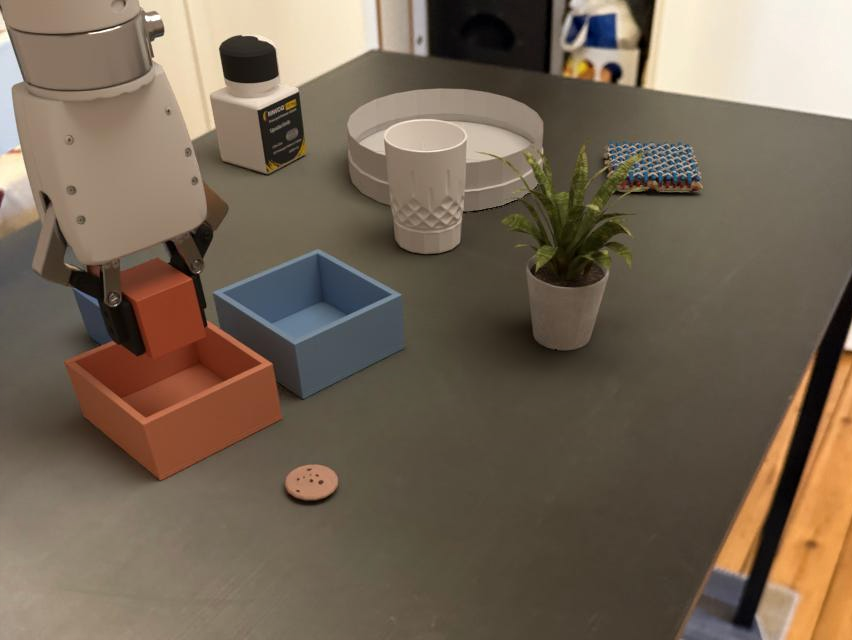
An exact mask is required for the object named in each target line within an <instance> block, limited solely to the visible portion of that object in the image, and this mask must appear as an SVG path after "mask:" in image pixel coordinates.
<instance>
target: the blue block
mask: <svg viewBox="0 0 852 640" xmlns="http://www.w3.org/2000/svg"><path fill="white" fill-rule="evenodd" d="M121 271H122V270H120V272H121ZM71 288H72V287H71ZM72 292H73V294H74V297H75V301H76V304H77V307H78V310H79V312H80V315H81V318H82V322H83V325H84V328H85V330H86V333H87V336H88V337H89V338H91V339H92V340H93V341H95V342H96V343H97V344H98V345H100V346H102V345H104V344H107V343H109V342H111V341H113V340H112V339H111V338H110V336H109V334H108V331H107V328H106V325H105V322H104V319H103V316H102V313H101V310H100V307H99V304H98V301H97V299H95V298H93V297H91V296H89V295H87V294H85V293H83V292H81V291H79V290H77V289H75V288H72Z"/></svg>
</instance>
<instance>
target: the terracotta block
mask: <svg viewBox="0 0 852 640" xmlns="http://www.w3.org/2000/svg"><path fill="white" fill-rule="evenodd" d="M168 263H169V262H167V261H164V260H163V259H161V258H159V257H156V258H153V259H150V260H148V261H145V262H142V263H140V264H137V265H134V266H132V267H129V268H127V269H124V270H120V271H121V272H120V274H121V289H122V295H123V298H124V299H126V300H127V301H129V302H130V303H131V305H132V307H133V310H134V313H135V317H136V320H137V323H138V327H139V330H140V333H141V337H142V340H143V343H144V347H145V351H144V352H145V353H144V354H146V355H147V356H148V357H150V358H151V359H153V360H155V359H157V358H159V357H161V356H164V355H166V354H168V353H171V352H173V351H175V350H177V349H180V348H182V347H184V346H187V345H189V344H191V343H193V342H196V341H198V340H200V339H202V338H205V337H206V334H205V329H204V325H203V321H202V317H201V313H200V309H199V304H198V300H197V296H196V292H195V288H194V284H193V280H192V278H190V277H188V276H187V275H185V274H184V273H182V272H180V271H179V270H177V269H176V268H174V267H172V266H171V265H169V264H168Z"/></svg>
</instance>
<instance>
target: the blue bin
mask: <svg viewBox="0 0 852 640" xmlns="http://www.w3.org/2000/svg"><path fill="white" fill-rule="evenodd" d="M212 296H213V301H214V305H215V306H214V307H215V310H216V314H217V319H218V323H219V328H220V329H221V330H223V331H224V332H226V333H227V334H229V335H230V336H232V337H233V338H235V339H236V340H238V341H239V342H241V343H242V344H244V345H245V346H247V347H248V348H250V349H251V350H253V351H254V352H256V353H257V354H259V355H260V356H262V357H263V358H265V359H266V360H268V361H269V362H271V363H272V364H273V368H274V374H275V380H276V383H278V384H280V385H281V386H283V387H284V388H286V389H287V390H289V391H290V392H292V393H293V394H294V395H296V396H298V397H299V398H300V399H302V400H304V399H306V398H308V397H310V396H312V395H315V394H317V393H319V392H320V391H322V390H324V389H326V388H328V387H330V386H331V385H332V386H333V385H335V384H336V383H338V382H340V381H342V380H344V379H346V378H348V377H350V376H352V375H354V374H356V373H358V372H360V371H362V370H364V369H366V368H368V367H370V366H372V365H374V364H376V363H378V362H381V361H382V360H383V359H386V358H388V357H390V356H393V354H396V353H398V352H400V351H402V350H404V349H405V347H406V346H405V345H406V344H405V329H404V328H405V327H404V326H405V325H404V309H403V295H402V294H401V293H399V292H398V291H397V290H395V289H392V288H390V286H387V285H385V284H383V283H382V282H380V281H378V280H376V279H375V278H372V277H371V276H368V275H367V274H365V273H364V272H362V271H359V270H358V269H356V268H354V267H352V266H350V265H348V264H347V263H345V262H343V261H342V260H339V259H338V258H337V257H336V258H335V256H332V255H331V254H329V253H327V252H325V251H323V250H321V249H319V248H317V249H313V250H312V251H310V252H308V253H304V254H303V255H300V256H296V257H295V258H293V259H290V260H288V261H286V262H282V263H280V264H278V265H275V266H273V267H271V268H269V269H266V270H264V271H260V272H259V273H256V274H254V275H251V276H249V277H246V278H244V279H241V280H239V281H237V282H234V283H231V284H229V285H227V286H224V287H222V288H219V289H217V290H215V291H213V292H212Z"/></svg>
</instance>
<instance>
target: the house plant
mask: <svg viewBox="0 0 852 640" xmlns="http://www.w3.org/2000/svg"><path fill="white" fill-rule="evenodd" d="M591 137H592V135H590V136H589V137H588V138H587V139H586V141H585V142H584V143H583V144H582V146H581V148H580V150H579V153H578V155H577V158H576V161H575V165H574V169H573V173H572V179H571V183H570V188H569V192H568V191H561V192H557V191H556V187H555V181H554V177H553V173H552V169H551V167H550V164H549V161H548V159H547V158H546V156H545V155H544V153H543V154H542V153H541V152H540V151H539V150H538V149H536V148H535V147H533V146H531V145H530V146H531V147H532V148H534V149H535V150H536V151H537V152H538V154H539V155H540V157H541V159H542V161H543V167H544V169H545V171H546V173H545V172H544V170H542V169H541V167H540V165H539V164H538V162H537V160H536V159H535V158H534V156H532V155H531V154H530V153H529V152H527V151H526V150H525V149H524V151H525V152H526V154H527V155H528V156H527V155H526V154H524V153H523V152H522V153H523V154H524V156H525V158H526V160H527V162H528V163H529V164H530V166H531V167H532V170H533V173H534V176H535V178H536V180H537V182H538V184H539V185H538V186H539V187H540V190H541V191H542V192H541V191H540V190H536V189H535V190H530V188H529V186H528V185H527V183H526V182H525V180H524V179H523V177H522V176H521V174H520V173H519V172H518V170H516V169H515V168H514V167H513V166H512V165H511V164H510V163H509V162H508V161H506V160H504V159H503V158H501V157H498V156H495V155H492V154H489V153H484V152H477V153H482V154H486V155H489V156H492V157H495V158H497V159H499V160H501V161H503V162H504V163H506V164H507V165H509V166H510V167H511V168H512V169H513V170H514V171H515V172H516V173H517V175H518V176H519V177H520V179H521V180H522V182H523V183H524V185H525V186H526V188H527V189H520V190H516V191H514V192H513V193H516V192H520V191H526V190H528V191H529V193H530V196H531V198H532V199H533V201H534V203H535V205H536V206H537V208H538V209H539V212H540V213H541V215H542V217H543V218H544V221H545V223H546V225H547V227H548V230H549V231H550V235H551V237H552V241H553V245H554V247H553V245H552V243H551V241H550V239H549V236H548V233H547V231H546V229H545V226H544V225H543V223H542V221H541V218H540V216H539V215H538V212H537V211H536V209H535V208H534V207H533V205H532V204H531V203H530V202H529V201H527V200H526V199H524V198H522V199H521V198H515V199H519V200H518V201H519V202H521V203H522V204H523V205H524V206H525V207H526V209H527V210H528V211H529V213H530V214H531V216H532V217H533V219H534V221H535V223H536V225H537V226H536V225H535V224H534V223H533V222H532V221H530V220H529V218H527V217H526V216H524V215H522V214H519V213H511V214H509V215H507V216H505V217H504V218H503V219H502V220H501V221H500V223H499V225H500V224H503V226H507V227H511V228H508V229H507V230H506V231H505V232H509V231H510V232H518V233H523V234H528V235H531V237H533V238H534V240H535V241H536V242H537V243H538V246H539V248H537V247H536V246H533V245H530V244H527V243H519V244H516V245H515V246H514V247H512V248H513V249H515V248H520V247H525V246H526V247H527V246H528V247H530V248H532V250H534V251H535V254H534V255H533V256H532V257H530V258H529V259H528V261H527V263H526V264H525V265H526V266H525V270H526V271H525V273H526V280H527V289H528V298H529V299H528V300H529V309H530V316H531V318H530V319H531V326H532V327H531V328H532V335H533V338H534V340H535V341H536V343H538V344H539V345H541V346H543V347H545V348H548V349H551V350H555V349H557V351H572V350H577V349H580V348H582V347H584V346H586V345H587V344H588V343H589V342H590V341H591V337H592V334H593V331H594V327H595V324H596V321H597V317H598V314H599V311H600V307H601V303H602V300H603V296H604V293H605V290H606V287H607V283H608V279H609V276H610V275H611V271H610V269H611V264H612V261H613V260H612V258H611V256H610V253H609V251H608V249H610V250H611V251H612V252H614V253H615V254H616V255H618V256H619V257H620V258H622V259H623V260H624V261H625V262H626V263H627V265H628V266H629V270H630V271H632V258H633V255H632V253H631V250H630V249H629V247H628V246H626V245H625V244H623V243H620V242H617V241H610V240H611V239H612V238H613V237H614V236H616V235H618V234H627V235H629V236H630V237H631V238H632V239H633V240H634V241H636V239H635V237H634V236H633V235H632V233H631V231H630V229H629V228H628V227H626V226H625V225H622V224H621V223H622V222H623V221H626V219H624V218H621V216H636V215H637V213H627V212H612V213H605V212H606V211H607V210H608V209H609V208H610V207H611V206H612V205H614V204H615V203H616V202H618V201H619V200H620V199H622V198H624V197H625V196H627V195H628V194H631V192H634V191H638V190H642V189H646V188H649V189H650V187H637V188H634V189H632V190H630V191H628V192H624V194H622V195H621V196H620V197H618V198H617V199H616V200H615V201H613V202H612V203H611V204H610V205H609V206H608V207H607V208H605V209H604V207H605V206H606V205H607V203H608V201H609V200H610V198H611V197H612V196H613V194H614V193H616V192H617V191H616V189H617V188H618V187H619V186H620V185H621V184H622V183H623V181H624V180H625V178H626V176H627V174H628V172H629V170H630V168H631V167H632V166H633V165H634V164H635V163H636V162H637V161H638V160H639V159H640V158H641V157H642V156H643V155H644V154H645V153H646V152H648V151H645V152H642V153H639V154H636V155H634V156H632V157H630V158H629V159H627V160H626V161H625V162H624V163H622V164H621V165H620V166H619V167H618V168H617V169H616V170H615V171H614V172H613V173H612V175H611V176H610V177H609V178H608V177H607V179H606V180H605V181H604V183H602V185H601V186H600V187H599V188H598V190H597V192H596V193H595V194H594V195H593V196H592V200H591V202H590V204H586V205H584V201H585V195H586V190H587V188H588V186H589V185H590V183H591V182H593V180H594V179H595V178H597V177H598V176H599V175H600V174H602V173H603V172H604V171H606V170H607V169H609V168H608V167H609V166H610V165H611V164H613V163H614V162H615V161H614V162H612V163H611V164H609V165H607V166H606V167H602V168H601V169H599V170H598V171H597V172H596V173H595V174H594V175H593V176H591V178H590V179H589V180H588V178H589V166H588V157H587V156H588V155H587V153H586V148H587V146H588V143H589V140H590V138H591ZM474 152H475V151H474ZM513 193H511V194H513ZM535 196H536V197H537V199H538V200H539V201H540V203H541V204H542V206H543V208H544V210H545V212H546V214H547V216H548V219H549V221H548V219H547V217H546V215H545V213H544V210H543V209H542V207H541V205H540V204H539V202H538V200H537V199H536V197H535ZM507 199H514V197H511V198H507ZM507 199H505V200H507ZM586 208H588V210H586ZM603 209H604V210H603ZM585 210H586V211H585ZM602 210H603V211H602ZM606 219H608V220H606ZM604 220H605V222H604V223H603V224H601V225H600V226H599V227H597V228H596V229H595V230H593V229H594V228H595V226H596V225H597V224H598V223H600V222H602V221H604ZM627 221H628V222H629V220H627ZM549 222H550V223H549ZM550 225H551V226H550ZM592 230H593V231H592ZM505 232H504V233H505ZM604 247H606V248H608V249H602V248H604ZM601 249H602V250H601Z"/></svg>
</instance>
